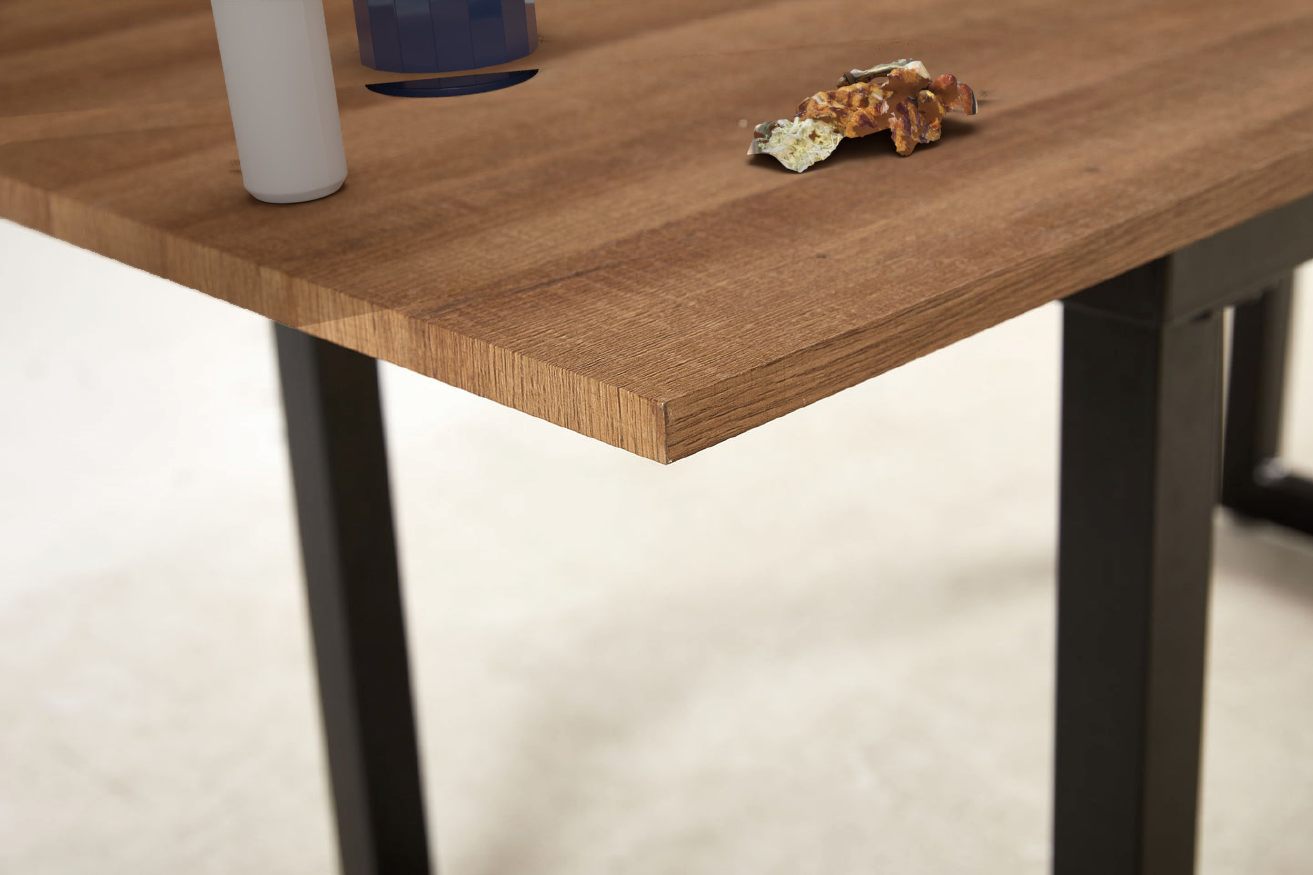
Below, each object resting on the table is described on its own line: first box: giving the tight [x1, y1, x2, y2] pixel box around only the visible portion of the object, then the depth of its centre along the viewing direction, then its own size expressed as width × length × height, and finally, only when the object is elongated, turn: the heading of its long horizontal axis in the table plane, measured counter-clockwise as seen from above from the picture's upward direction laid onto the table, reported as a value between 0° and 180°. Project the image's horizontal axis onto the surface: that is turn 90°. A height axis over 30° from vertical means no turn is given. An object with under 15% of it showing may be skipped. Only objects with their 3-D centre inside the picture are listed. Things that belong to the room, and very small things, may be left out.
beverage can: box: [210, 0, 349, 204], centre depth 71 cm, size 5×5×12 cm
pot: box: [352, 0, 540, 99], centre depth 91 cm, size 10×10×8 cm
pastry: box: [746, 57, 979, 173], centre depth 75 cm, size 7×12×4 cm, turn 133°
